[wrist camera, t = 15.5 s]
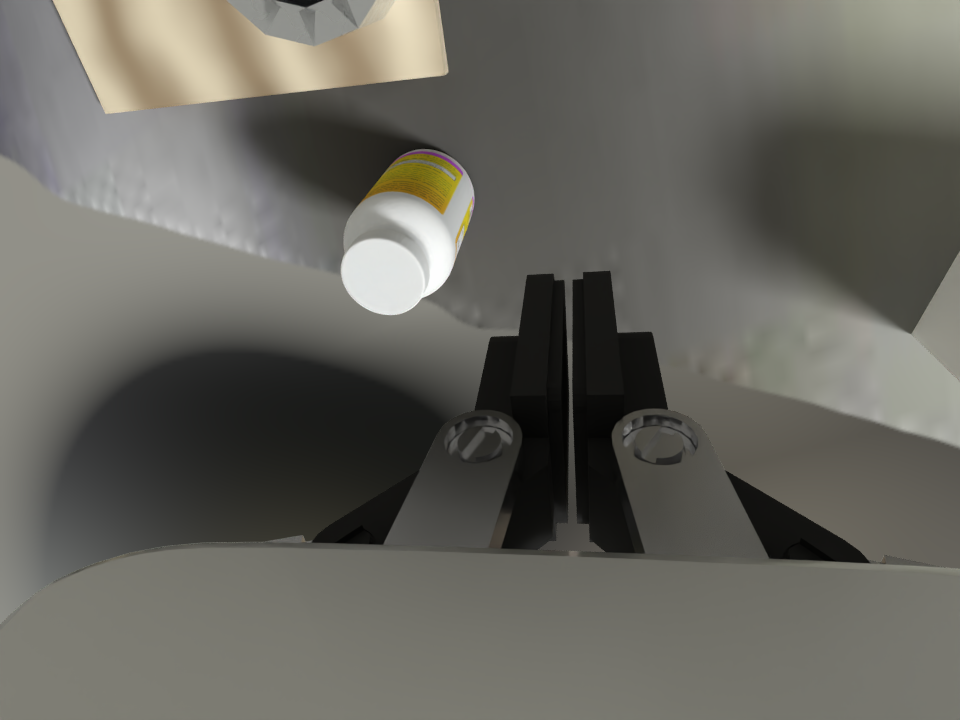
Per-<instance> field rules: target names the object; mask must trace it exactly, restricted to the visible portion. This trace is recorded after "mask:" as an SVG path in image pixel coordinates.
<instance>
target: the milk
mask: <svg viewBox="0 0 960 720" xmlns="http://www.w3.org/2000/svg"><path fill="white" fill-rule="evenodd" d="M911 335H912V336H913V337H914V338H915V339H916V340H917V341H919V342H920V343H921V344H922V345H923V346H924V347H925V348H926V349H927V350H928V351H929V352H930V353H931V354H932V355H933V356H934V357H935V358H936V359H937V360H938V361H939V362H940V363H941V364H942V365H943V366H944V367H945V368H946V369H947V370H948V371H949V372H950V373H951V374H952V375H954V376H955V377H956V378H957V379H958V380H959V381H960V251H959V253H958V255H957V257H956V258H955V260H954V262H953V263H952V265H951V267H950V269H949V270H948V272H947V274H946V275H945V277H944V279H943V281H942V282H941V284H940V286H939V288H938V289H937V291H936V293H935V294H934V296H933V298H932V300H931V301H930V303H929V305H928V306H927V308H926V310H925V312H924V313H923V315H922V317H921V318H920V320H919V322H918V324H917V325H916V327H915V329H914V330H913V332H912V334H911Z"/></svg>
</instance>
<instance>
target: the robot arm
mask: <svg viewBox="0 0 960 720" xmlns="http://www.w3.org/2000/svg"><path fill="white" fill-rule="evenodd" d="M572 379H573V380H572V383H573V422H574V449H575V475H576V501H577V523H579V524H589V533H590V542H594V543H595V544H597V545H598V546H599V547H600V548H601V549H603V550H604V551H605V552H583V551H555V550H538V549H539V548H540V547H542V546H543V545H544V544H546V543H547V542H548V541H556V531H557V530H556V529H557V523H568V455H569V379H568V355H567V330H566V307H565V284H564V280H557V281H554V274H538V275H527V279H526V286H525V293H524V300H523V308H522V315H521V322H520V329H519V336H500V337H491V338H490V341H489V345H488V350H487V355H486V359H485V365H484V369H483V374H482V378H481V384H480V388H479V392H478V397H477V402H476V406H475V411H471V412H466V413H463V414H461V415H459V416H457V417H454V418H453V419H451V420H450V421H449V422H448V423H446V424H445V425H444V426H443V427H442V428H441V430H440V431H439V433H438V434H437V436H436V438H435V440H434V442H433V444H432V446H431V448H430V450H429V452H428V455H427V457H426V459H425V461H424V462H423V465H422V467H421V469H420V470H419V471H417V472H415V473H414V474H412V475H410V476H409V477H407V478H406V479H404V480H402V481H401V482H399V483H397V484H396V485H394V486H393V487H391V488H389V489H388V490H386V491H385V492H383V493H381V494H379V495H378V496H376V497H375V498H373V499H371V500H370V501H368V502H366V503H365V504H363V505H362V506H360V507H358V508H357V509H355V510H353V511H352V512H350V513H349V514H347V515H345V516H344V517H342V518H340V519H339V520H337V521H335V522H334V523H332V524H331V525H329V526H328V527H327V528H325V529H324V530H323V531H321V532H320V533H319V534H318V535H317V536H316V537H315V539H314V540H313V541H308V542H306V541H305V539H304V537H303V536H296V537H290V538H284V539H278V540H272V541H266V542H225V543H224V542H223V543H221V542H220V543H195V544H184V545H173V546H164V547H159V548H154V549H148V550H142V551H137V552H131V553H128V554H124V555H121V556H118V557H115V558H111V559H108V560H104V561H101V562H97V563H94V564H92V565H90V566H87V567H84V568H82V569H79V570H77V571H75V572H72V573H70V574H68V575H66V576H63V577H61V578H59V579H57V580H55V581H54V582H52V583H51V584H49V585H47V586H46V587H44V588H42V589H41V590H39V591H38V592H37V593H35V594H34V595H33V596H32V597H30V598H29V599H28V600H26V601H25V602H24V603H23V604H22V605H20V606H19V607H18V608H17V609H16V610H15V611H14V612H13V613H12V614H10V615H9V616H8V617H7V618H6V619H5V620H4V621H3V622H2V623H1V624H0V720H960V569H953V568H945V567H940V566H935V565H930V564H926V563H921V562H916V561H911V560H906V559H901V558H897V557H892V556H887V555H884V557H883V559H882V561H881V562H876V561H871V560H867V559H866V557H865V556H864V555H863V554H862V553H861V552H860V551H859V550H857V549H856V548H855V547H853V546H852V545H850V544H849V543H848V542H846V541H845V540H843V539H842V538H840V537H838V536H837V535H835V534H833V533H831V532H830V531H828V530H826V529H824V528H823V527H821V526H819V525H818V524H816V523H814V522H813V521H811V520H809V519H808V518H806V517H804V516H802V515H801V514H799V513H797V512H796V511H794V510H792V509H790V508H789V507H787V506H785V505H784V504H782V503H780V502H778V501H777V500H775V499H773V498H772V497H770V496H768V495H766V494H765V493H763V492H762V491H760V490H758V489H756V488H755V487H753V486H751V485H750V484H748V483H746V482H744V481H743V480H741V479H739V478H738V477H736V476H734V475H733V474H731V473H729V472H727V471H725V470H724V468H723V466H722V464H721V462H720V460H719V458H718V456H717V454H716V452H715V450H714V448H713V446H712V444H711V442H710V440H709V438H708V436H707V434H706V433H705V431H704V430H703V429H702V427H701V426H700V425H699V424H698V423H697V422H695V421H694V420H692V419H691V418H689V417H688V416H685V415H683V414H681V413H678V412H676V411H671V410H668V407H667V402H666V397H665V392H664V388H663V382H662V377H661V373H660V368H659V363H658V358H657V353H656V348H655V343H654V338H653V335H652V332H631V333H617V326H616V317H615V308H614V300H613V291H612V282H611V273H610V271H599V272H583V279H578V280H573V378H572Z"/></svg>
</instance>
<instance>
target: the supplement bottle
mask: <svg viewBox="0 0 960 720" xmlns="http://www.w3.org/2000/svg"><path fill="white" fill-rule="evenodd" d="M473 208H474V191H473V186H472V183H471V180H470V178H469V176H468V174H467V173H466V171H465V170H464V169H463V167H462V166H461V165H460V164H459V163H458V162H457V161H456V160H454V159H453V158H451V157H450V156H448V155H446V154H444V153H442V152H439V151H436V150H430V149H418V150H413V151H410V152H407V153H405V154H403V155H402V156H400V157H399V158H397V159H396V160H395V161H394V162H393V163H392V164H391V165H390V166H389V168H388V169H387V170H386V171H385V173H384V174H383V175H382V176H381V178H380V179H379V180H378V181H377V183H376V184H375V185H374V186H373V188H372V189H371V190H370V191H369V193H368V194H367V195H366V196H365V198H364V199H363V200H362V201H361V203H360V204H359V205H358V206H357V207H356V209H355V210H354V211H353V213H352V214H351V216H350V217H349V219H348V221H347V224H346V227H345V231H344V240H343V242H344V251H345V254H344V256H343V259H342V262H341V277H342V281H343V283H344V286H345V288H346V290H347V292H348V293H349V294H350V296H351V297H352V298H353V299H354V300H355V301H356V302H357V303H358V304H360V305H361V306H363V307H364V308H366V309H368V310H370V311H372V312H375V313H379V314H384V315H396V314H401V313H404V312H406V311H408V310H410V309H412V308H413V307H414V306H415V305H416V304H417V303H418V302H419V301H420V299H421V298H423V297H425V296H428V295H430V294H431V293H433V292H435V291H436V290H437V289H438V288H439V287H441V286H442V284H443V283H444V282H445V281H446V279H447V278H448V276H449V274H450V272H451V270H452V267H453V265H454V262H455V259H456V256H457V253H458V251H459V248H460V245H461V243H462V240H463V238H464V235H465V232H466V230H467V227H468V224H469V221H470V219H471V216H472V212H473Z"/></svg>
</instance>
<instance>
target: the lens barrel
mask: <svg viewBox="0 0 960 720" xmlns="http://www.w3.org/2000/svg"><path fill="white" fill-rule="evenodd" d="M227 1H228V2H229V3H230V4H231V5H232V6H233V7H235V8H236V9H237V10H238V11H239V12H240V13H241V14H242V15H244V16H245V17H246V18H247V19H248V20H249V21H250V22H252V23H253V24H254V25H255V26H256V27H257V28H258V29H259V30H261V31H262V32H263V33H264V34H265V35H269V36H273V37H277V38H281V39H286V40H290V41H294V42H298V43H302V44H306V45H311V46H317V45H319V44H322V43H325V42H327V41H330V40H332V39H335V38H338V37H340V36H343V35H345V34H347V33H350V32H352V31H355V30H357V29H360V28H362V27H364V26H367V25H369V24H372V23H374V22H377V21H379V20H382V19H384V17H385V16H386V14H387V13H388V11H389V10H390V8H391V7H392V5H393V4H394V2H395V1H396V0H227Z"/></svg>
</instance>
